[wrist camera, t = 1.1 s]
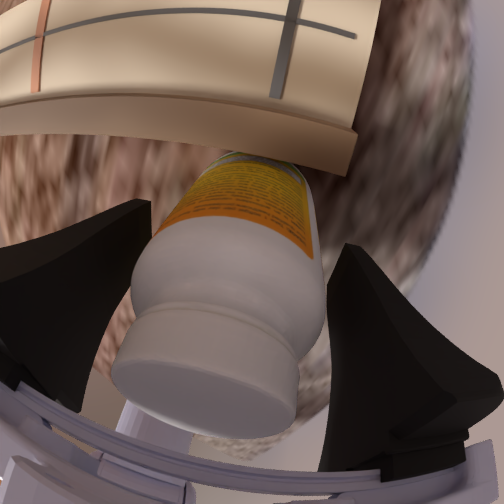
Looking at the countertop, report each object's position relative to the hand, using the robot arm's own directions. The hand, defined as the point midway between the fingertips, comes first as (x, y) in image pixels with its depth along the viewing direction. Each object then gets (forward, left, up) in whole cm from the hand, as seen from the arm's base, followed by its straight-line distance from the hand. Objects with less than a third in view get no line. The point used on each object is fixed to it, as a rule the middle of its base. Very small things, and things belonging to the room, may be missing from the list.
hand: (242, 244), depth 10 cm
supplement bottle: (0, 0, -4) cm, 4 cm away
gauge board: (+7, +8, -3) cm, 11 cm away
